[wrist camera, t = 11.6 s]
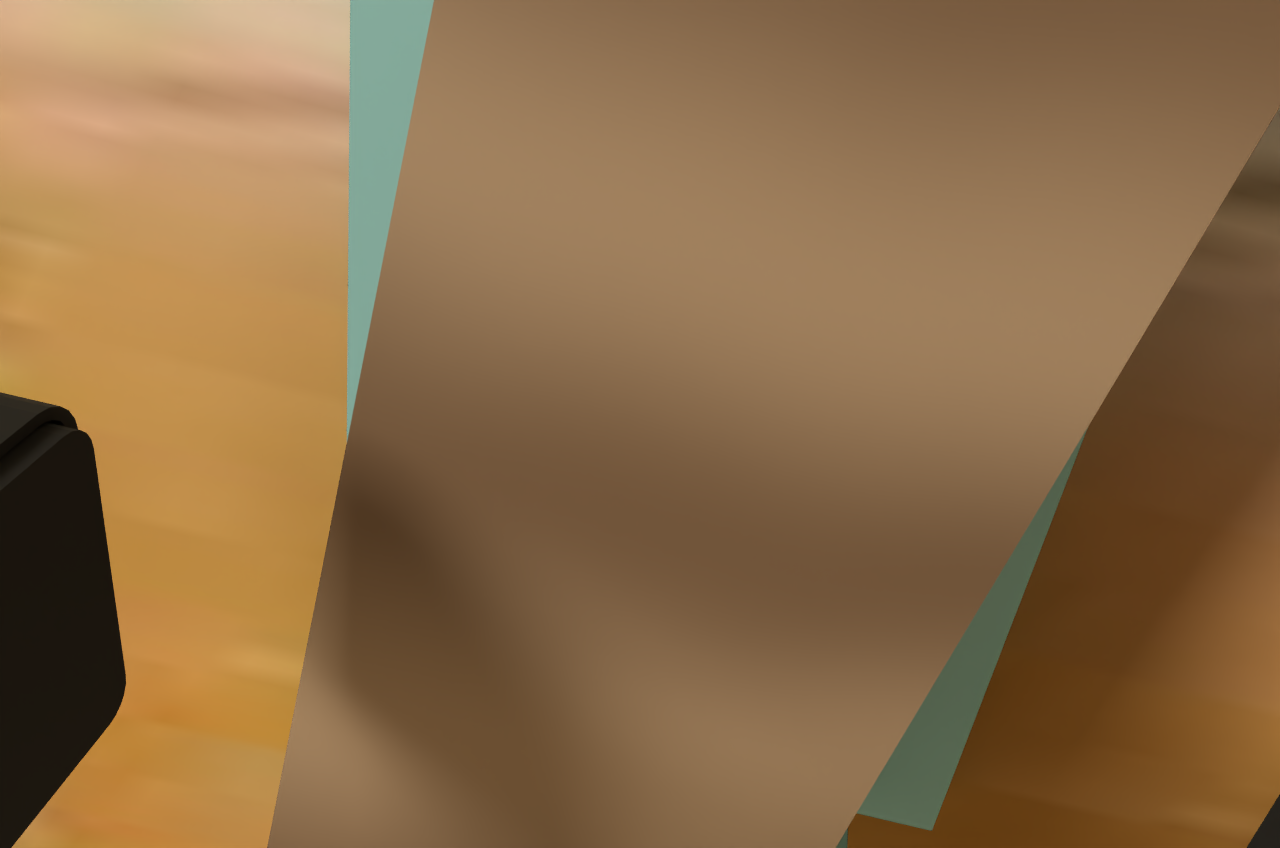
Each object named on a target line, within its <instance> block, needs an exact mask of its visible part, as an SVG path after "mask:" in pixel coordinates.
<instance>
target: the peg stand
mask: <svg viewBox="0 0 1280 848" xmlns="http://www.w3.org/2000/svg"><path fill="white" fill-rule="evenodd" d="M433 2H434V0H350V114H349V241H348V368H347V440H348V435H349V430H350V425H351V419H352V414H353V409H354V404H355V399H356V394H357V389H358V384H359V379H360V374H361V369H362V363H363V358H364V353H365V348H366V343H367V338H368V333H369V328H370V323H371V318H372V313H373V308H374V302H375V297H376V292H377V287H378V282H379V277H380V272H381V267H382V262H383V257H384V252H385V247H386V241H387V236H388V231H389V226H390V221H391V216H392V211H393V206H394V201H395V196H396V191H397V186H398V180H399V175H400V170H401V165H402V160H403V155H404V150H405V145H406V140H407V135H408V130H409V124H410V119H411V114H412V109H413V104H414V99H415V94H416V89H417V84H418V79H419V74H420V69H421V63H422V58H423V53H424V48H425V43H426V38H427V33H428V28H429V23H430V18H431V13H432V8H433ZM1086 431H1087V429H1086ZM1086 431H1085V433H1084V434H1083V436H1082V438H1081V439H1080V441H1079V443H1078V444H1077V446H1076V448H1075V449H1074V451H1073V453H1072V454H1071V456H1070V458H1069V459H1068V461H1067V463H1066V464H1065V466H1064V468H1063V469H1062V471H1061V473H1060V474H1059V476H1058V478H1057V479H1056V481H1055V483H1054V484H1053V486H1052V488H1051V489H1050V491H1049V493H1048V494H1047V496H1046V498H1045V499H1044V501H1043V503H1042V504H1041V506H1040V508H1039V509H1038V511H1037V513H1036V514H1035V516H1034V518H1033V519H1032V521H1031V523H1030V524H1029V526H1028V528H1027V529H1026V531H1025V533H1024V534H1023V536H1022V538H1021V539H1020V541H1019V543H1018V544H1017V546H1016V548H1015V549H1014V551H1013V553H1012V554H1011V556H1010V558H1009V559H1008V561H1007V563H1006V564H1005V566H1004V568H1003V569H1002V571H1001V573H1000V574H999V576H998V578H997V579H996V581H995V583H994V584H993V586H992V588H991V589H990V591H989V593H988V594H987V596H986V598H985V599H984V601H983V603H982V604H981V606H980V608H979V609H978V611H977V613H976V615H975V616H974V618H973V620H972V621H971V623H970V625H969V626H968V628H967V630H966V631H965V633H964V635H963V636H962V638H961V640H960V641H959V643H958V645H957V646H956V648H955V650H954V651H953V653H952V655H951V656H950V658H949V660H948V661H947V663H946V665H945V666H944V668H943V670H942V671H941V673H940V675H939V676H938V678H937V680H936V681H935V683H934V685H933V686H932V688H931V690H930V691H929V693H928V695H927V696H926V698H925V700H924V701H923V703H922V705H921V706H920V708H919V710H918V711H917V713H916V715H915V716H914V718H913V720H912V721H911V723H910V725H909V726H908V728H907V730H906V731H905V733H904V735H903V736H902V738H901V740H900V741H899V743H898V745H897V746H896V748H895V750H894V751H893V753H892V755H891V756H890V758H889V760H888V761H887V763H886V765H885V766H884V768H883V770H882V771H881V773H880V775H879V776H878V778H877V780H876V781H875V783H874V785H873V786H872V788H871V790H870V791H869V793H868V795H867V796H866V798H865V800H864V801H863V803H862V805H861V806H860V808H859V810H858V811H857V814H862V815H866V816H870V817H875V818H879V819H883V820H887V821H892V822H896V823H900V824H904V825H909V826H913V827H917V828H922V829H926V830H930V831H932V829H933V827H934V824H935V821H936V819H937V816H938V814H939V811H940V808H941V806H942V803H943V801H944V798H945V796H946V793H947V790H948V788H949V785H950V783H951V780H952V777H953V775H954V772H955V770H956V767H957V765H958V762H959V759H960V757H961V754H962V752H963V749H964V746H965V744H966V741H967V739H968V736H969V733H970V731H971V728H972V726H973V723H974V721H975V718H976V715H977V713H978V710H979V708H980V705H981V702H982V700H983V697H984V695H985V692H986V690H987V687H988V684H989V682H990V679H991V677H992V674H993V671H994V669H995V666H996V664H997V661H998V659H999V656H1000V653H1001V651H1002V648H1003V646H1004V643H1005V640H1006V638H1007V635H1008V633H1009V630H1010V628H1011V625H1012V622H1013V620H1014V617H1015V615H1016V612H1017V609H1018V607H1019V604H1020V602H1021V599H1022V596H1023V594H1024V591H1025V589H1026V586H1027V584H1028V581H1029V578H1030V576H1031V573H1032V571H1033V568H1034V565H1035V563H1036V560H1037V558H1038V555H1039V553H1040V550H1041V547H1042V545H1043V542H1044V540H1045V537H1046V534H1047V532H1048V529H1049V527H1050V524H1051V522H1052V519H1053V516H1054V514H1055V511H1056V509H1057V506H1058V503H1059V501H1060V498H1061V496H1062V493H1063V491H1064V488H1065V485H1066V483H1067V480H1068V478H1069V475H1070V472H1071V470H1072V467H1073V465H1074V462H1075V460H1076V457H1077V454H1078V452H1079V449H1080V447H1081V444H1082V441H1083V439H1084V436H1085V434H1086ZM847 840H848V828H847V830H846V831H845V833H844V835H843V836H842V838H841V840H840V841H839V843H838V845H837V846H836V848H847Z"/></svg>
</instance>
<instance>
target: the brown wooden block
mask: <svg viewBox="0 0 1280 848" xmlns="http://www.w3.org/2000/svg"><path fill="white" fill-rule="evenodd" d="M1279 107H1280V0H434V2H433V8H432V13H431V18H430V23H429V28H428V33H427V38H426V43H425V48H424V53H423V58H422V63H421V69H420V74H419V79H418V84H417V89H416V94H415V99H414V104H413V109H412V114H411V119H410V124H409V130H408V135H407V140H406V145H405V150H404V155H403V160H402V165H401V170H400V175H399V180H398V186H397V191H396V196H395V201H394V206H393V211H392V216H391V221H390V226H389V231H388V236H387V241H386V247H385V252H384V257H383V262H382V267H381V272H380V277H379V282H378V287H377V292H376V297H375V302H374V308H373V313H372V318H371V323H370V328H369V333H368V338H367V343H366V348H365V353H364V358H363V363H362V369H361V374H360V379H359V384H358V389H357V394H356V399H355V404H354V409H353V414H352V419H351V425H350V430H349V435H348V440H347V445H346V450H345V455H344V460H343V465H342V470H341V475H340V480H339V486H338V491H337V496H336V501H335V506H334V511H333V516H332V521H331V526H330V531H329V536H328V541H327V547H326V552H325V557H324V562H323V567H322V572H321V577H320V582H319V587H318V592H317V597H316V602H315V608H314V613H313V618H312V623H311V628H310V633H309V638H308V643H307V648H306V653H305V658H304V664H303V669H302V674H301V679H300V684H299V689H298V694H297V699H296V704H295V709H294V714H293V719H292V725H291V730H290V735H289V740H288V745H287V750H286V755H285V760H284V765H283V770H282V775H281V780H280V786H279V791H278V796H277V801H276V806H275V811H274V816H273V821H272V826H271V831H270V836H269V841H268V847H267V848H836V846H837V845H838V843H839V841H840V840H841V838H842V836H843V835H844V833H845V831H846V830H847V828H848V826H849V825H850V823H851V821H852V820H853V818H854V816H855V815H856V813H857V811H858V810H859V808H860V806H861V805H862V803H863V801H864V800H865V798H866V796H867V795H868V793H869V791H870V790H871V788H872V786H873V785H874V783H875V781H876V780H877V778H878V776H879V775H880V773H881V771H882V770H883V768H884V766H885V765H886V763H887V761H888V760H889V758H890V756H891V755H892V753H893V751H894V750H895V748H896V746H897V745H898V743H899V741H900V740H901V738H902V736H903V735H904V733H905V731H906V730H907V728H908V726H909V725H910V723H911V721H912V720H913V718H914V716H915V715H916V713H917V711H918V710H919V708H920V706H921V705H922V703H923V701H924V700H925V698H926V696H927V695H928V693H929V691H930V690H931V688H932V686H933V685H934V683H935V681H936V680H937V678H938V676H939V675H940V673H941V671H942V670H943V668H944V666H945V665H946V663H947V661H948V660H949V658H950V656H951V655H952V653H953V651H954V650H955V648H956V646H957V645H958V643H959V641H960V640H961V638H962V636H963V635H964V633H965V631H966V630H967V628H968V626H969V625H970V623H971V621H972V620H973V618H974V616H975V615H976V613H977V611H978V609H979V608H980V606H981V604H982V603H983V601H984V599H985V598H986V596H987V594H988V593H989V591H990V589H991V588H992V586H993V584H994V583H995V581H996V579H997V578H998V576H999V574H1000V573H1001V571H1002V569H1003V568H1004V566H1005V564H1006V563H1007V561H1008V559H1009V558H1010V556H1011V554H1012V553H1013V551H1014V549H1015V548H1016V546H1017V544H1018V543H1019V541H1020V539H1021V538H1022V536H1023V534H1024V533H1025V531H1026V529H1027V528H1028V526H1029V524H1030V523H1031V521H1032V519H1033V518H1034V516H1035V514H1036V513H1037V511H1038V509H1039V508H1040V506H1041V504H1042V503H1043V501H1044V499H1045V498H1046V496H1047V494H1048V493H1049V491H1050V489H1051V488H1052V486H1053V484H1054V483H1055V481H1056V479H1057V478H1058V476H1059V474H1060V473H1061V471H1062V469H1063V468H1064V466H1065V464H1066V463H1067V461H1068V459H1069V458H1070V456H1071V454H1072V453H1073V451H1074V449H1075V448H1076V446H1077V444H1078V443H1079V441H1080V439H1081V438H1082V436H1083V434H1084V433H1085V431H1086V429H1087V428H1088V426H1089V424H1090V423H1091V421H1092V419H1093V418H1094V416H1095V414H1096V413H1097V411H1098V409H1099V408H1100V406H1101V404H1102V403H1103V401H1104V399H1105V398H1106V396H1107V394H1108V393H1109V391H1110V389H1111V388H1112V386H1113V384H1114V383H1115V381H1116V379H1117V378H1118V376H1119V374H1120V373H1121V371H1122V369H1123V368H1124V366H1125V364H1126V363H1127V361H1128V359H1129V358H1130V356H1131V354H1132V353H1133V351H1134V349H1135V347H1136V346H1137V344H1138V342H1139V341H1140V339H1141V337H1142V336H1143V334H1144V332H1145V331H1146V329H1147V327H1148V326H1149V324H1150V322H1151V321H1152V319H1153V317H1154V316H1155V314H1156V312H1157V311H1158V309H1159V307H1160V306H1161V304H1162V302H1163V301H1164V299H1165V297H1166V296H1167V294H1168V292H1169V291H1170V289H1171V287H1172V286H1173V284H1174V282H1175V281H1176V279H1177V277H1178V276H1179V274H1180V272H1181V271H1182V269H1183V267H1184V266H1185V264H1186V262H1187V261H1188V259H1189V257H1190V256H1191V254H1192V252H1193V251H1194V249H1195V247H1196V246H1197V244H1198V242H1199V241H1200V239H1201V237H1202V236H1203V234H1204V232H1205V231H1206V229H1207V227H1208V226H1209V224H1210V222H1211V221H1212V219H1213V217H1214V216H1215V214H1216V212H1217V211H1218V209H1219V207H1220V206H1221V204H1222V202H1223V201H1224V199H1225V197H1226V196H1227V194H1228V192H1229V191H1230V189H1231V187H1232V186H1233V184H1234V182H1235V181H1236V179H1237V177H1238V176H1239V174H1240V172H1241V171H1242V169H1243V167H1244V166H1245V164H1246V162H1247V161H1248V159H1249V157H1250V156H1251V154H1252V152H1253V151H1254V149H1255V147H1256V146H1257V144H1258V142H1259V141H1260V139H1261V137H1262V136H1263V134H1264V132H1265V131H1266V129H1267V127H1268V126H1269V124H1270V122H1271V121H1272V119H1273V117H1274V116H1275V114H1276V112H1277V111H1278V109H1279Z"/></svg>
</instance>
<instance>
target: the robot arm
mask: <svg viewBox="0 0 1280 848" xmlns="http://www.w3.org/2000/svg"><path fill="white" fill-rule="evenodd" d="M125 686H126V674H125V667H124V660H123V653H122V646H121V639H120V631H119V624H118V617H117V610H116V603H115V596H114V589H113V582H112V575H111V567H110V560H109V553H108V546H107V539H106V532H105V525H104V518H103V511H102V504H101V496H100V489H99V482H98V475H97V468H96V461H95V454H94V448H93V444H92V441H91V439H90V437H89V436H88V434H87V433H85V432H83V431H81V430H78V428H77V424H76V421H75V418H74V417H73V416H72V414H71V413H70V412H69V410H67V409H64V408H62V407H60V406H56V405H52V404H48V403H43V402H39V401H35V400H30V399H26V398H22V397H18V396H13V395H9V394H5V393H0V848H11V847H12V846H13V845H14V844H15V842H16V841H17V840H18V839H19V837H20V836H21V835H22V834H23V832H24V831H25V830H26V829H27V827H28V826H29V825H30V824H31V822H32V821H33V820H34V819H35V817H36V816H37V815H38V814H39V812H40V811H41V810H42V809H43V807H44V806H45V805H46V804H47V802H48V801H49V800H50V799H51V797H52V796H53V795H54V793H55V792H56V791H57V790H58V788H59V787H60V786H61V785H62V783H63V782H64V781H65V780H66V778H67V777H68V776H69V775H70V773H71V772H72V771H73V770H74V768H75V767H76V766H77V765H78V763H79V762H80V761H81V760H82V758H83V757H84V756H85V755H86V753H87V752H88V751H89V750H90V748H91V747H92V746H93V745H94V743H95V742H96V741H97V740H98V738H99V737H100V736H101V735H102V733H103V732H104V731H105V730H106V728H107V727H108V726H109V725H110V723H111V722H112V720H113V719H114V717H115V716H116V714H117V711H118V709H119V707H120V705H121V702H122V699H123V696H124V691H125ZM1247 848H1280V795H1279V797H1278V798H1277V800H1276V801H1275V803H1274V805H1273V806H1272V808H1271V809H1270V811H1269V813H1268V814H1267V816H1266V817H1265V819H1264V821H1263V822H1262V824H1261V825H1260V827H1259V829H1258V830H1257V832H1256V833H1255V835H1254V837H1253V838H1252V840H1251V842H1250V843H1249V845H1248V846H1247Z"/></svg>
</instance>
